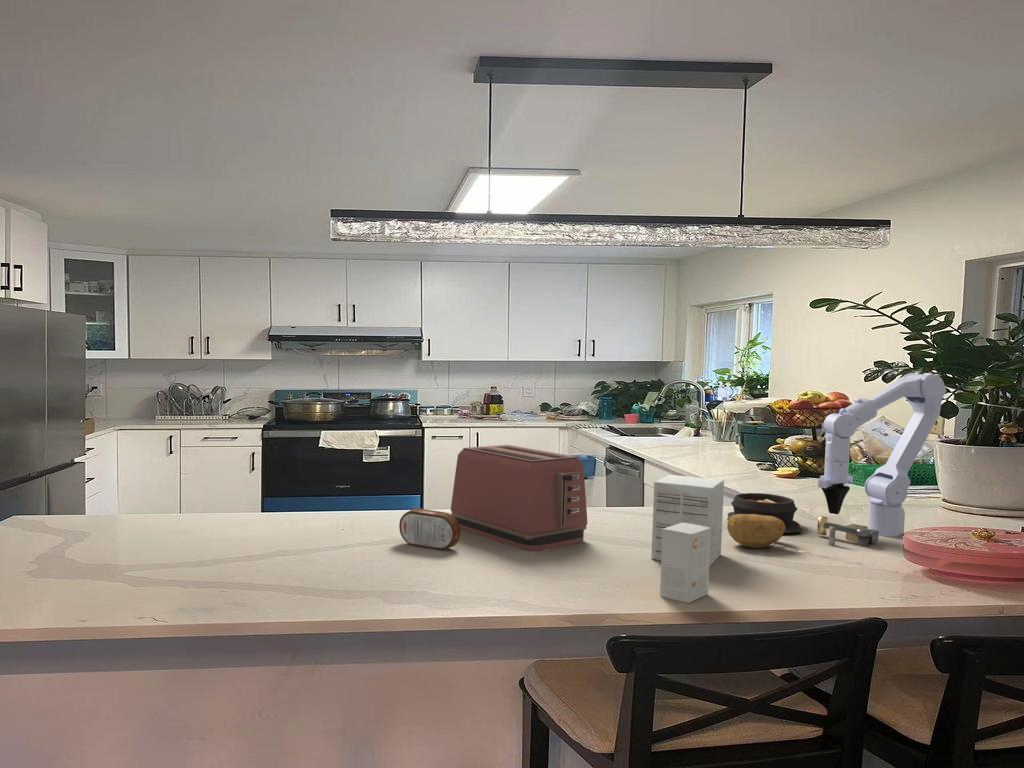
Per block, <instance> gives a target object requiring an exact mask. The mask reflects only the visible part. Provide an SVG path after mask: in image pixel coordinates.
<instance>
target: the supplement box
mask: <svg viewBox="0 0 1024 768" xmlns="http://www.w3.org/2000/svg"><path fill="white" fill-rule="evenodd" d="M724 485H725V480H724V479H719V478H718V479H717V478H716V479H715V478H709V477H707V478H706V477H700V476H699V477H697V476H686V475H677V474H676V475H675V474H668V475H665V476H664V477H662V478H661V479H660V478H659V479H658V480H656V481H654V483H653V507H652V508H653V511H652V531H651V533H652V534H651V535H652V536H651V556H650V558H651V560H656V561H661V552H662V529H663V528H667V527H670V526H673V525H676V524H679V523H688V524H695V525H700V526H705V527H709V528H711V534H710V560H709V568H710V567H711V566H712V564H713V563H714V562H715V561H716V560H718V558H719V557H720V556H721V555H722V535H723V534H722V533H723V518H724V517H723V513H724V494H725V493H724V492H725V491H724V487H725V486H724Z"/></svg>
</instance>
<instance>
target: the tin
mask: <svg viewBox="0 0 1024 768" xmlns="http://www.w3.org/2000/svg"><path fill="white" fill-rule="evenodd" d="M398 526H399V533H400V536H401V538H402V539H403V540H404V542H405V543H407V544H408V545H410V546H415V547H419V548H428V549H433V550H437V551H445V550H448V549H450V548H452V547H454V546H456V545H457V544H458V542H459V541H460V537H461V529H460V526H459V524H458V522H457V520H456V519H455V518H454V517H453V516H452V515H451V514H450V513H449V512H444V511H439V510H432V509H425V508H419V507H418V508H416V507H415V508H412V509H410V510H408V511H407V512H405V513H404V514H402V516H401V518H400V519H399V524H398Z"/></svg>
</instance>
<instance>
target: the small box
mask: <svg viewBox="0 0 1024 768" xmlns="http://www.w3.org/2000/svg"><path fill="white" fill-rule="evenodd" d="M710 534H711V528H709V527H705V526H700V525H695V524H688V523H679V524H676V525H673V526H670V527H667V528H663V529H662V552H661V560H660V581H659V582H660V584H659V585H660V587H659V596H660V597H662V598H666V599H669V600H674V601H677V602H682V603H685V604H686V603H687V604H690V603H693V602H695V601H696V600H698V599H701V598H702V597H705V596H707V595H708V594H709V587H710V586H709V583H710V567H709V560H710Z"/></svg>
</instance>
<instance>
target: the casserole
mask: <svg viewBox="0 0 1024 768" xmlns="http://www.w3.org/2000/svg"><path fill="white" fill-rule="evenodd" d="M730 504H731V505H732V507H733V511H731V512H730V511H729V512H728V513H727V518H726V519H727V521H728V520H729V518H730V517H731V516H733V515H736V514H757V515H764V516H773V517H776V518H779V519H780V520H782V521H783V522H784V524H785V530H784V533H783V534H796V533H797V534H798V533H801V532H802V531H803V530H802V528H801V525H800V523H799V522H798V521H796V520H794V516H795V513H796V511H798V507H797V506H796V504H795V500H794V499H792V498H790V497H786V496H784V495H783V496H782V495H778V494H770V493H759V492H756V493H755V492H752V493H751V492H745V493H738V494H736V495H735V496H734V498H733V501H731V503H730Z"/></svg>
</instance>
